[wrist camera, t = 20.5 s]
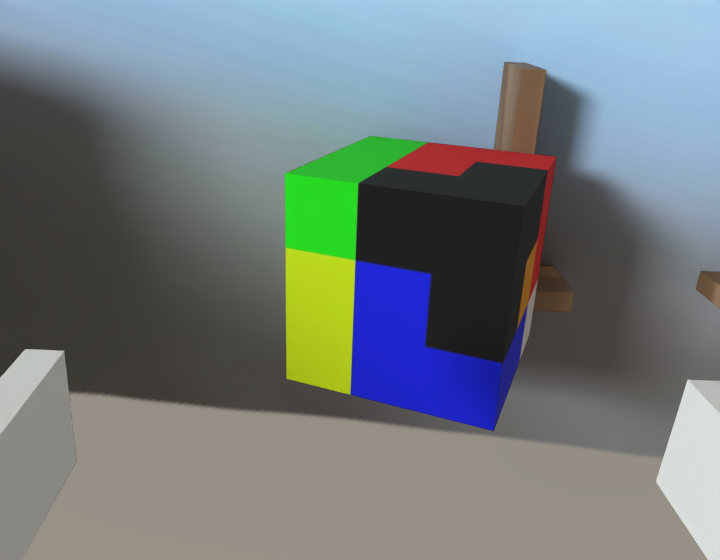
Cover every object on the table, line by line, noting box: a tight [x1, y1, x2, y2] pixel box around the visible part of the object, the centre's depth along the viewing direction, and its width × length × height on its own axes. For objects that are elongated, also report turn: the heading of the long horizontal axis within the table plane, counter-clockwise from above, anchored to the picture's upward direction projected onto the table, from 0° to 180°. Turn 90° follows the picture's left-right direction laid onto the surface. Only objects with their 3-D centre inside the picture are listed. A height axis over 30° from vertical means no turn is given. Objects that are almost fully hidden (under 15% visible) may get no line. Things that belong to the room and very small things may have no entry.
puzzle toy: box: [285, 136, 556, 431], centre depth 32 cm, size 10×10×10 cm
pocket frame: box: [494, 62, 720, 312], centre depth 37 cm, size 18×13×4 cm
